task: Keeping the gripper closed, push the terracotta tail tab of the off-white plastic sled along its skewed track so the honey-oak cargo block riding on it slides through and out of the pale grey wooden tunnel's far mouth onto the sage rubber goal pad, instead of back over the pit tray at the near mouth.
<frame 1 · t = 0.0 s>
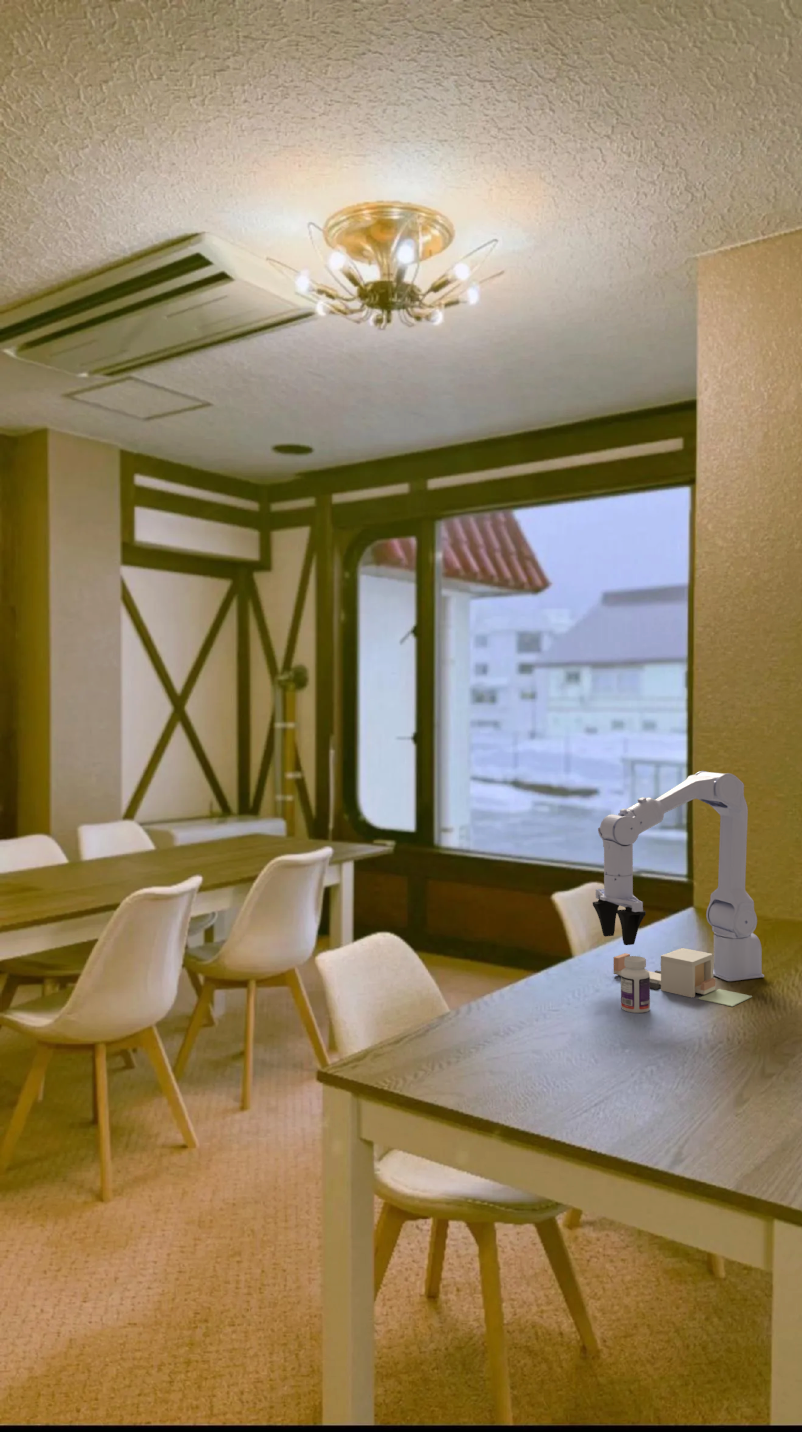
hand: (618, 940, 195), 10 cm above the table, fingers open, 7 cm apart
pill bottle: (635, 1010, 183), on the table
tunnel: (687, 989, 195), on the table
pit tray: (656, 982, 200), on the table
goal pad: (725, 998, 189), on the table
sled: (663, 969, 199), point 3 cm above the table, slide at 0.0 cm
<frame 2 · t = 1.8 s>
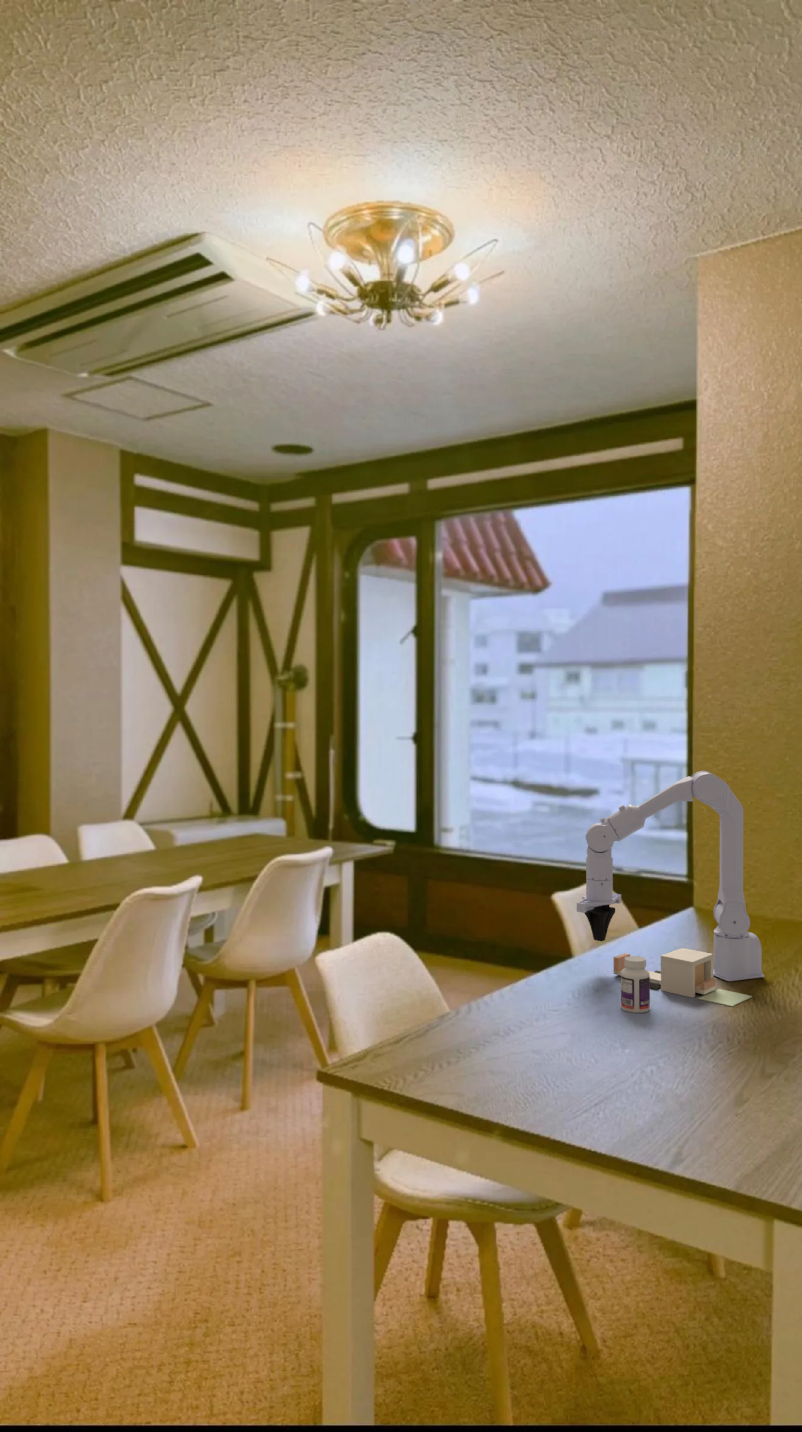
hand: (599, 940, 210), 6 cm above the table, fingers closed
nothing on the table moved.
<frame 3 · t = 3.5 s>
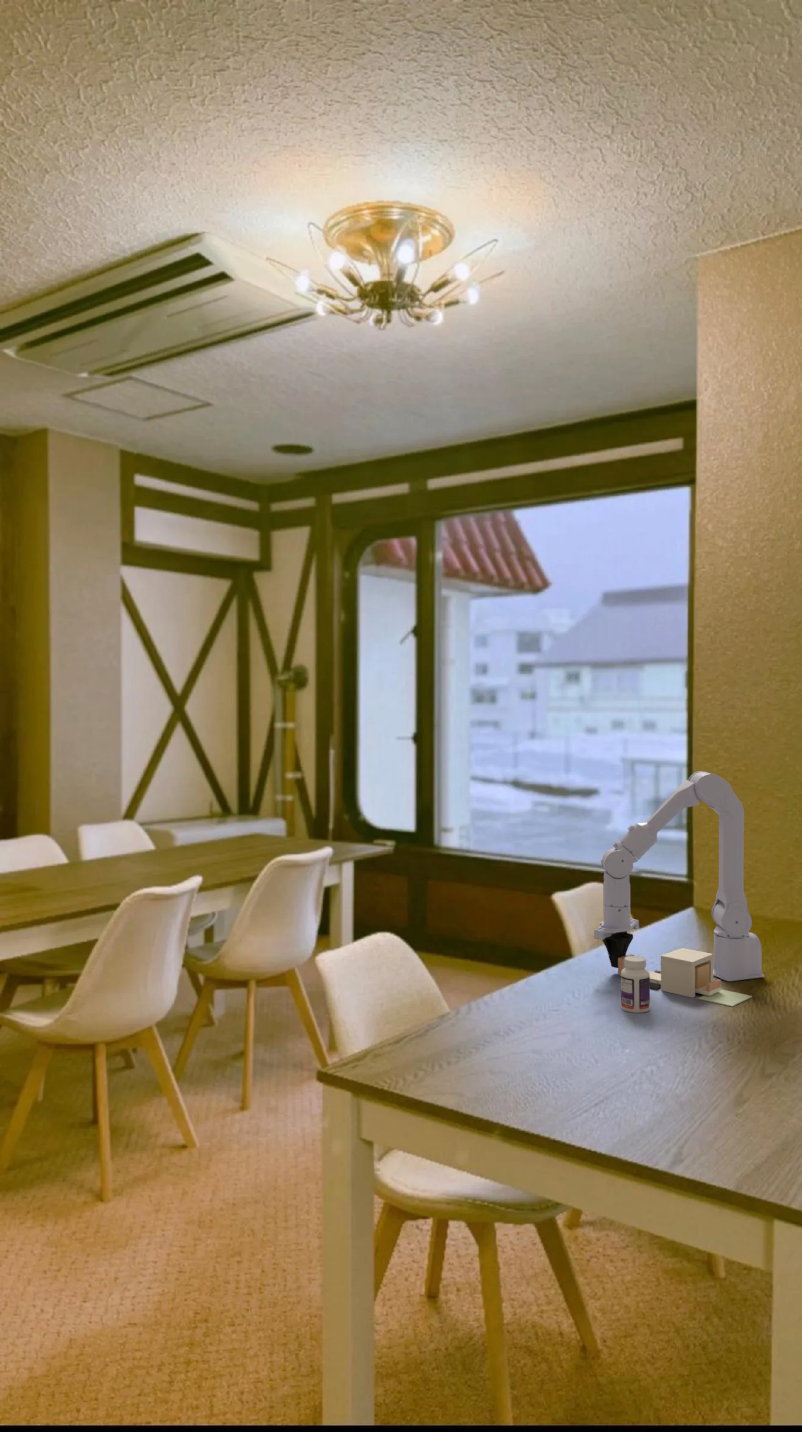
hand: (617, 967, 207), 1 cm above the table, fingers closed, pressing on sled
sled: (667, 970, 198), point 3 cm above the table, slide at 1.1 cm, touching gripper
everything else where it was.
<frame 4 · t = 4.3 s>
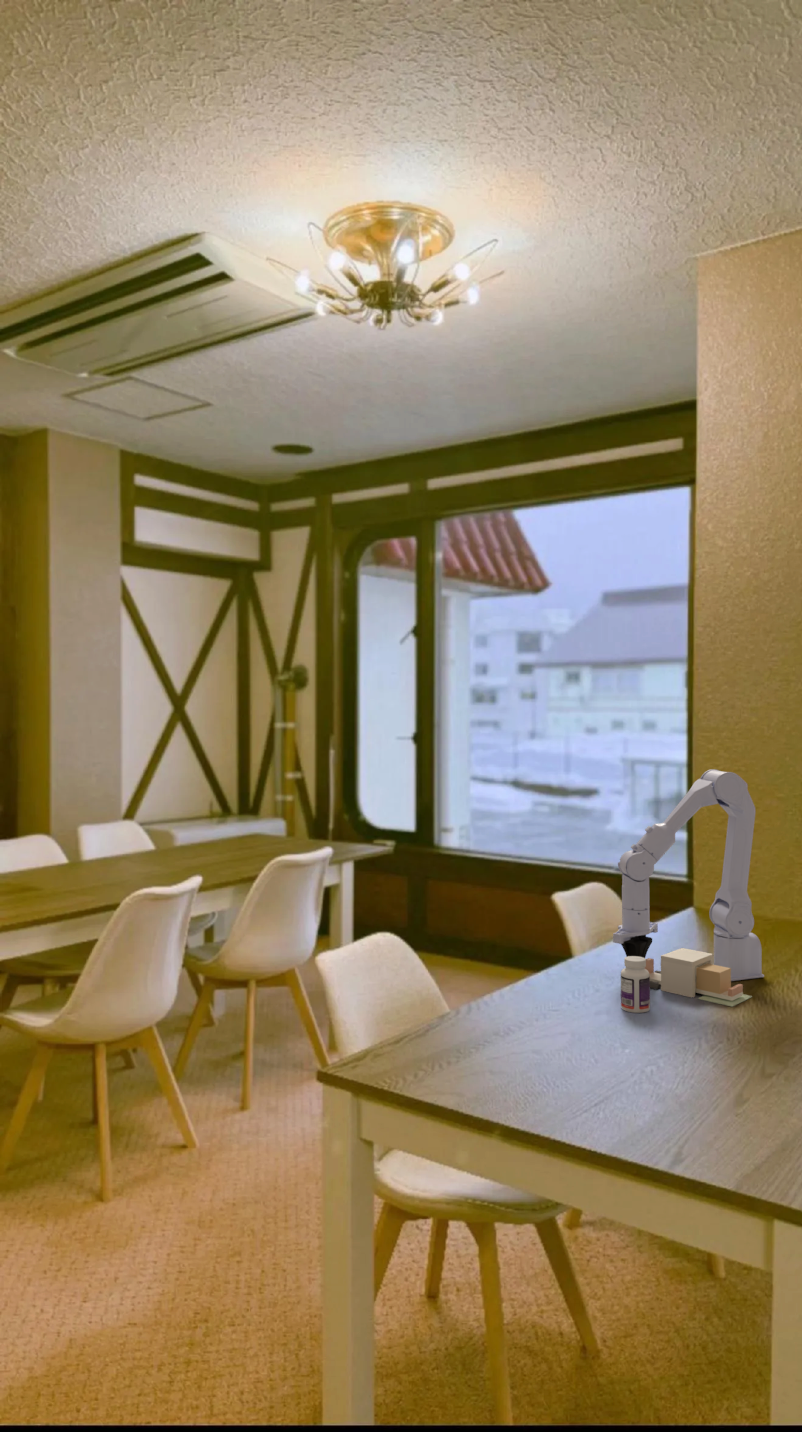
hand: (635, 971, 203), 1 cm above the table, fingers closed, pressing on sled
sled: (688, 975, 195), point 3 cm above the table, slide at 5.8 cm, touching gripper
everything else where it was.
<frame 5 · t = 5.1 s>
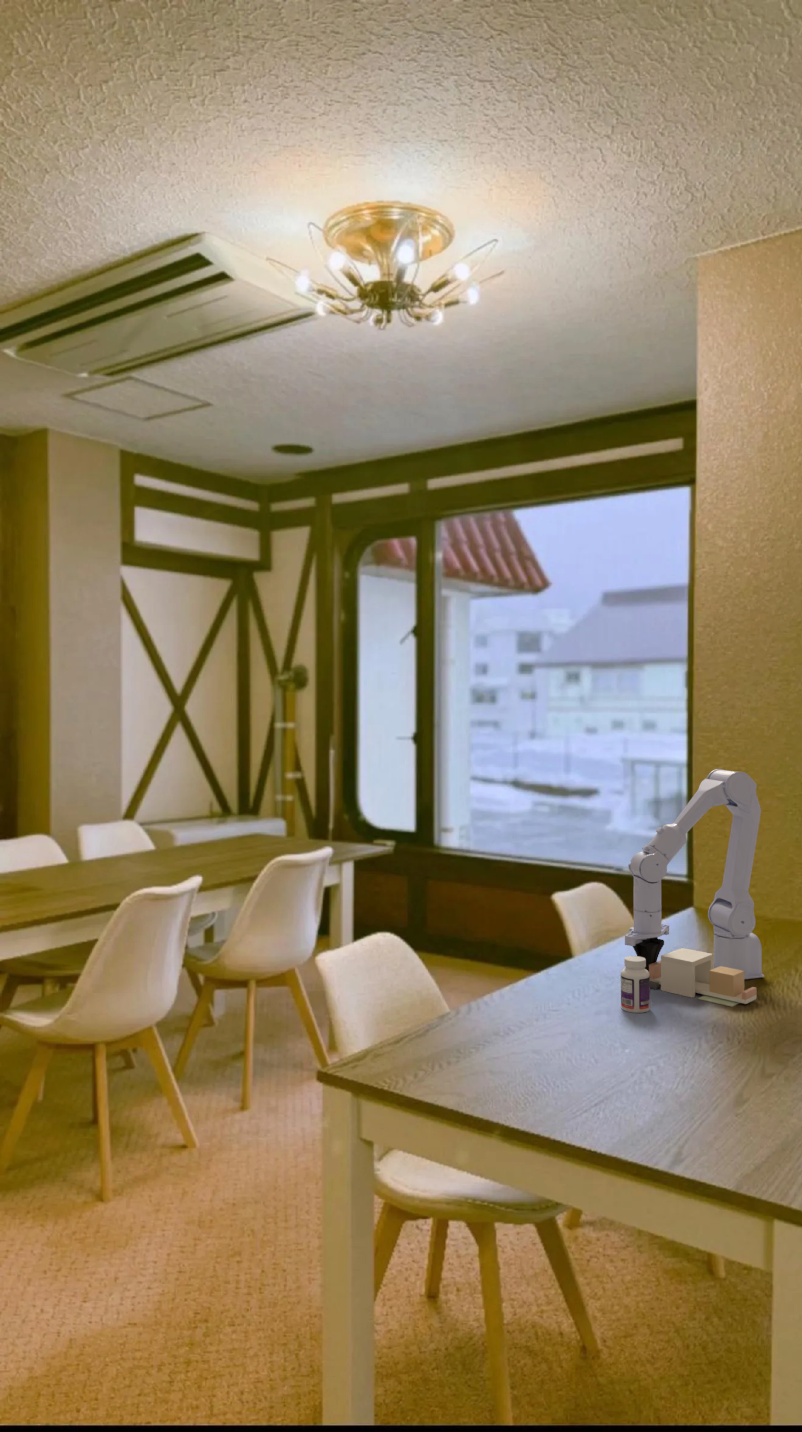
hand: (647, 973, 201), 1 cm above the table, fingers closed, pressing on sled
sled: (701, 977, 193), point 3 cm above the table, slide at 8.6 cm, touching gripper
everything else where it was.
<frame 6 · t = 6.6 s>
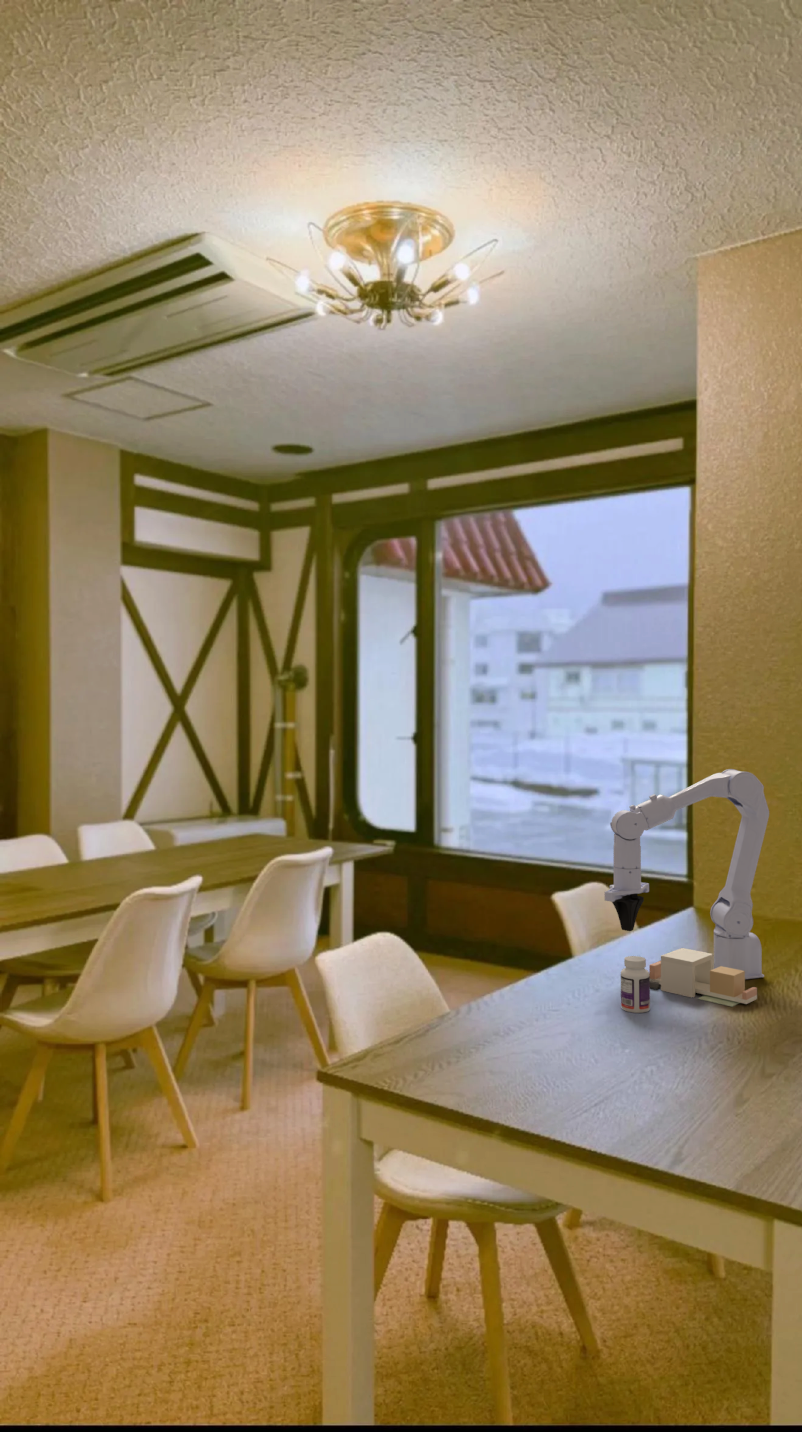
hand: (627, 930, 205), 10 cm above the table, fingers closed
sled: (701, 977, 193), point 3 cm above the table, slide at 8.7 cm
everything else where it was.
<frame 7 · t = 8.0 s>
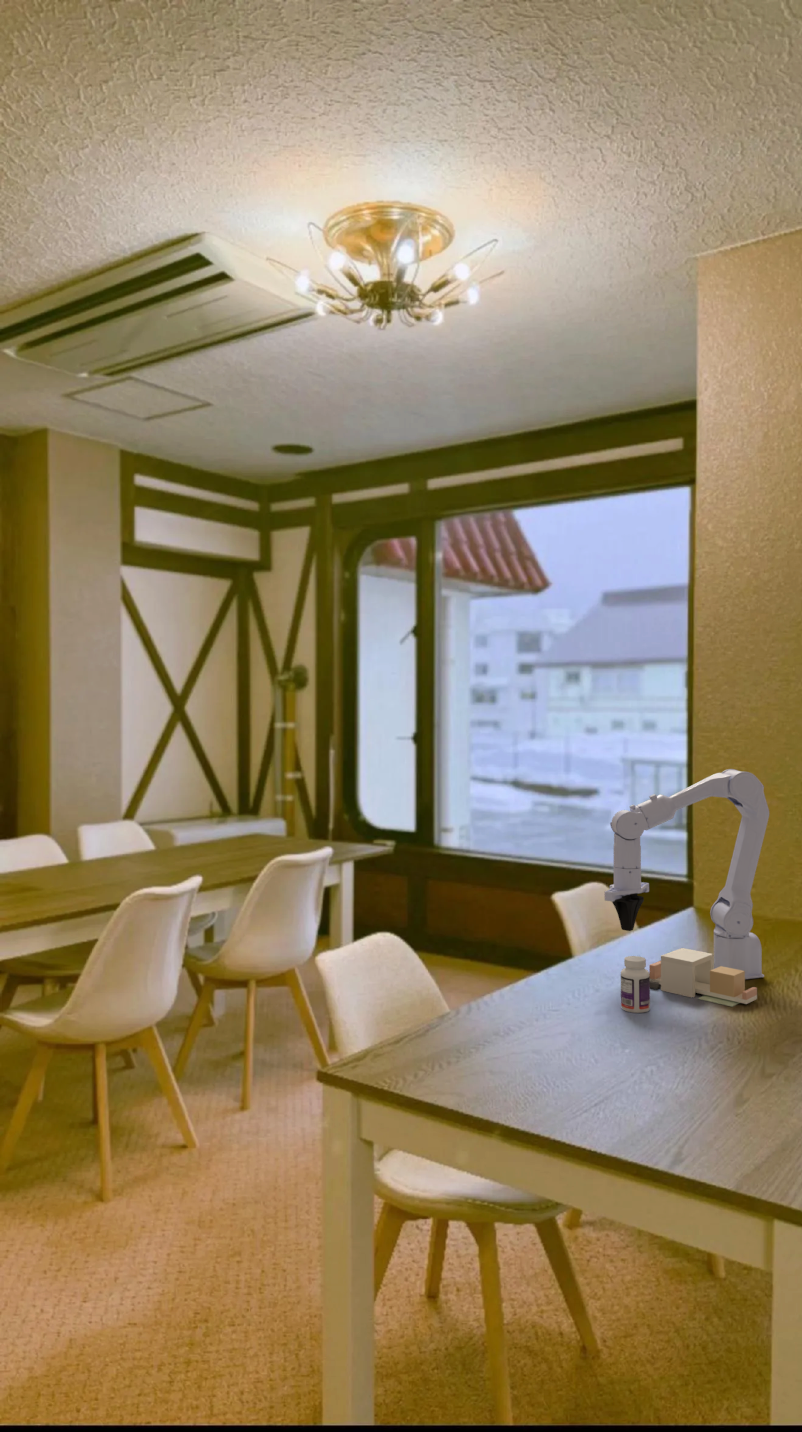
hand: (627, 929, 205), 10 cm above the table, fingers closed
nothing on the table moved.
at the end: sled slide at 8.7 cm; sled inside the target area on the goal pad (0.4 cm from its centre), point 3.0 cm above the goal pad's base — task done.
